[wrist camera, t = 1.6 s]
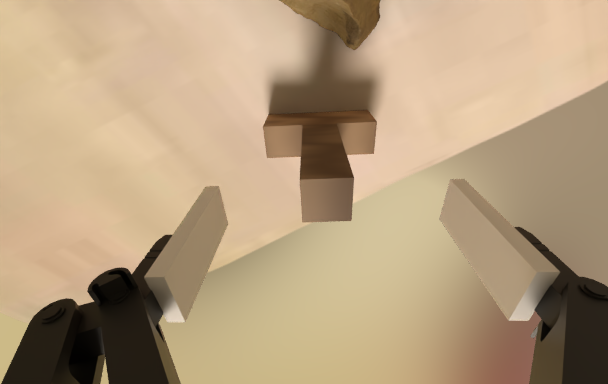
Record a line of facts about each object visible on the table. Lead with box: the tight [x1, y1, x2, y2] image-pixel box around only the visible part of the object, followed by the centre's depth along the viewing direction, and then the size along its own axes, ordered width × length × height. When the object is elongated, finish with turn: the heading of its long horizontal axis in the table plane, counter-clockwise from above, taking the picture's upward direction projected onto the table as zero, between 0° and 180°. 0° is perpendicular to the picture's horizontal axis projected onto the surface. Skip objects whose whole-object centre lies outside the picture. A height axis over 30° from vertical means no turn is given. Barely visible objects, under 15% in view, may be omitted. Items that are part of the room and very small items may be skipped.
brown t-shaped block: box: [263, 110, 377, 222], centre depth 21 cm, size 10×3×14 cm, turn 93°
